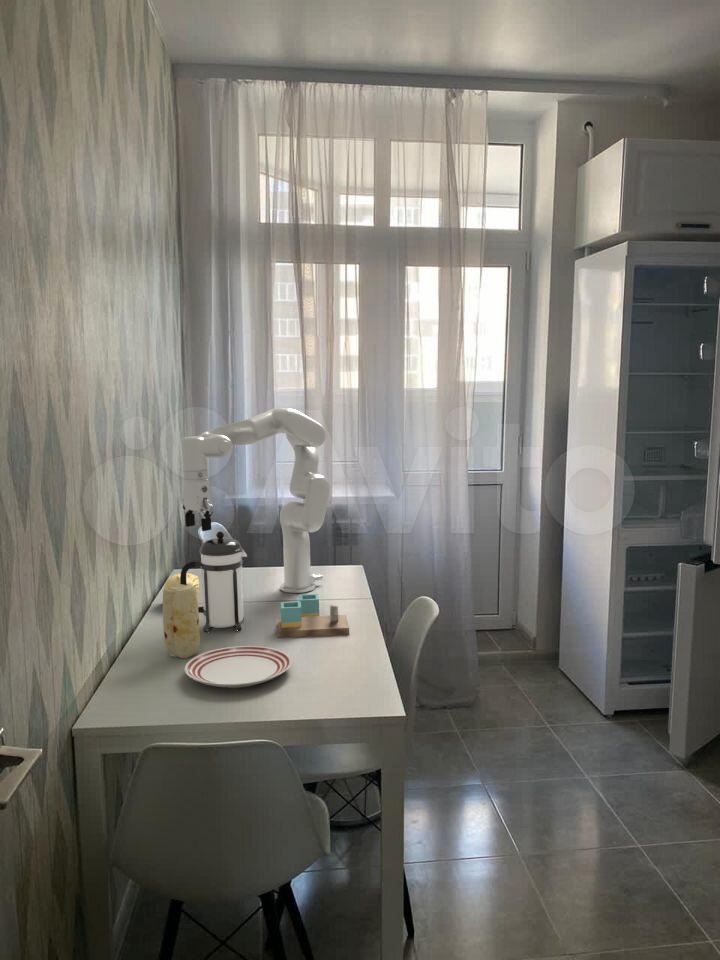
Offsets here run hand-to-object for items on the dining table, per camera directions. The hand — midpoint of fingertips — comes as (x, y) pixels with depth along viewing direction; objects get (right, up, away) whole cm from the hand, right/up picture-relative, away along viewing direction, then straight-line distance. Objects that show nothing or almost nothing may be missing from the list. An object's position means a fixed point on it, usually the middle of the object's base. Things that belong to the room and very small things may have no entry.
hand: (198, 528), depth 239 cm
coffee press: (+9, -30, -9) cm, 33 cm away
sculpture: (-9, -27, +15) cm, 32 cm away
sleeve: (+36, -28, +1) cm, 45 cm away
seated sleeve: (+31, -28, -13) cm, 44 cm away
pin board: (+38, -30, -12) cm, 50 cm away
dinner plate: (+20, -35, -45) cm, 61 cm away
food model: (+3, -34, -32) cm, 46 cm away
